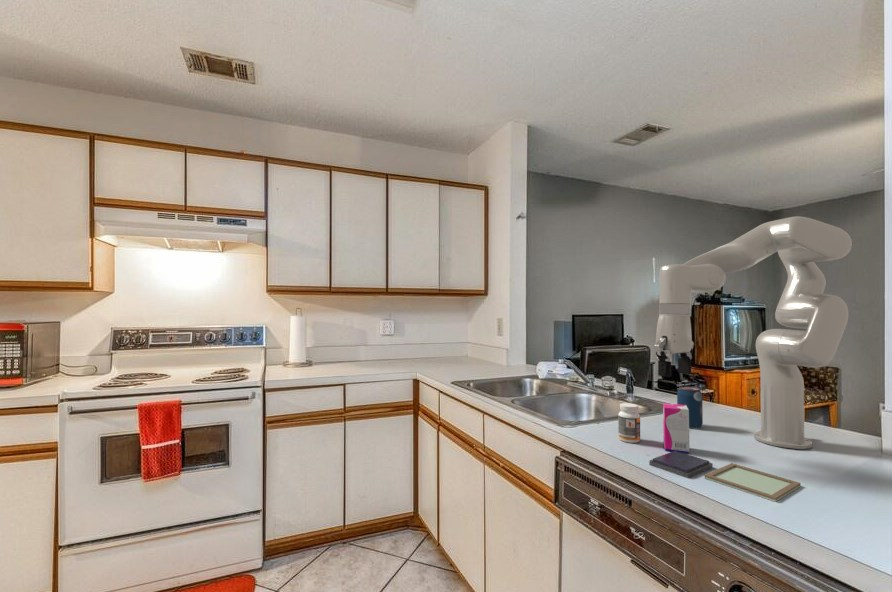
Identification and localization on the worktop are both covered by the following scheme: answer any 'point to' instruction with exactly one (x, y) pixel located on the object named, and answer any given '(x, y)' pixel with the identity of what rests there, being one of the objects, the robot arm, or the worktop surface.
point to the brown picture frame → (753, 481)
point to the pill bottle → (629, 423)
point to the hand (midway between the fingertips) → (674, 374)
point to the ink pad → (681, 464)
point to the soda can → (691, 404)
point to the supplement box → (676, 428)
